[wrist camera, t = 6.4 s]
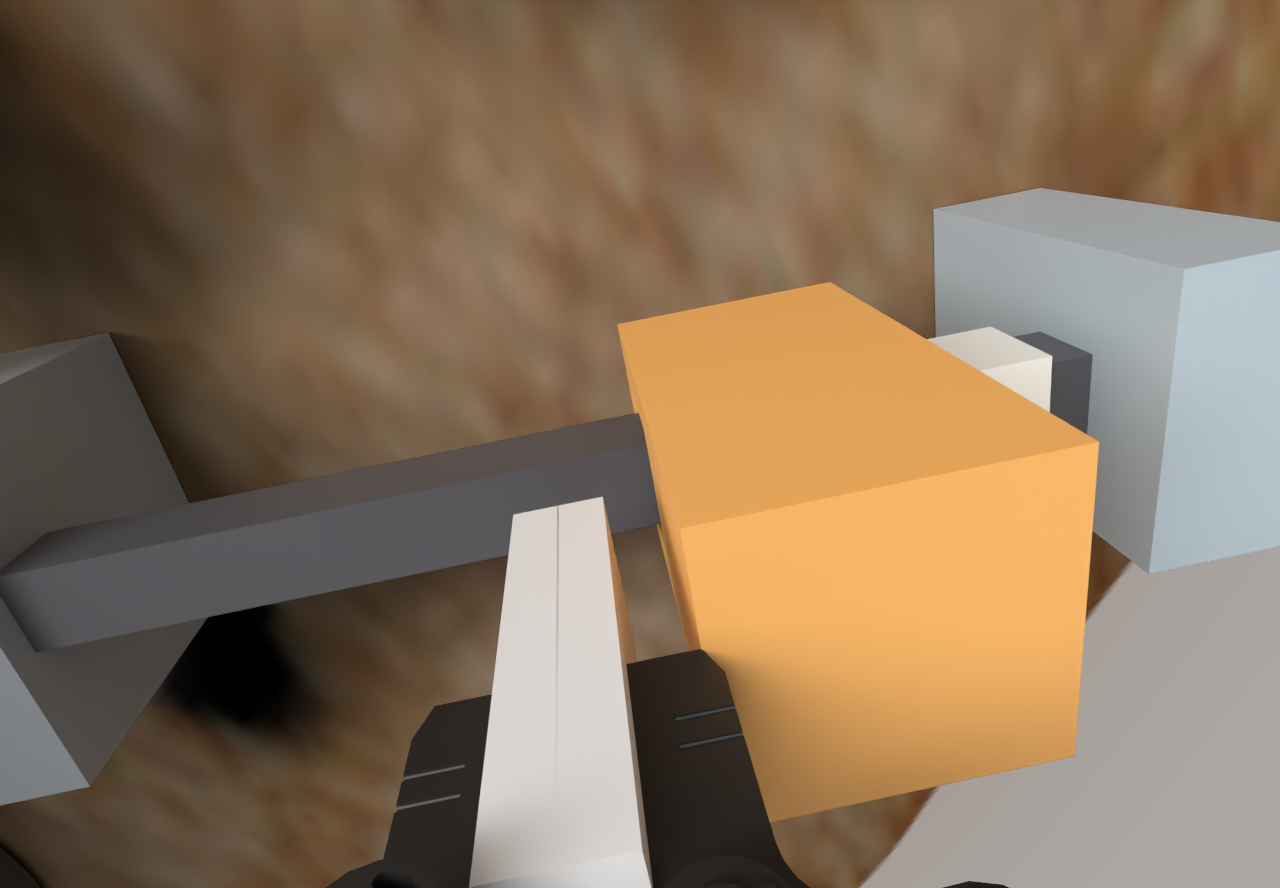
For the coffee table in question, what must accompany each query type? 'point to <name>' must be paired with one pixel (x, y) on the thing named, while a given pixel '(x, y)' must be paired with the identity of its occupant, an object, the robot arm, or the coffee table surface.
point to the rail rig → (619, 460)
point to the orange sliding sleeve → (865, 544)
